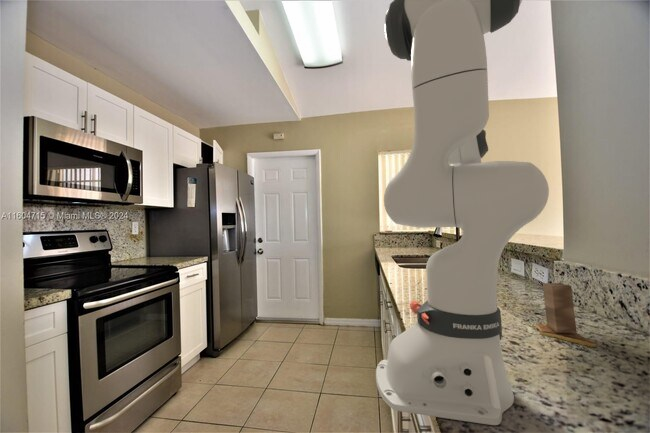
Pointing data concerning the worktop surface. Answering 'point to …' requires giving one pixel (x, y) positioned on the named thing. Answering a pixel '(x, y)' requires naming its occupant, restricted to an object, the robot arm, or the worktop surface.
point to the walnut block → (559, 307)
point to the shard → (564, 335)
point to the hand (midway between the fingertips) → (474, 222)
